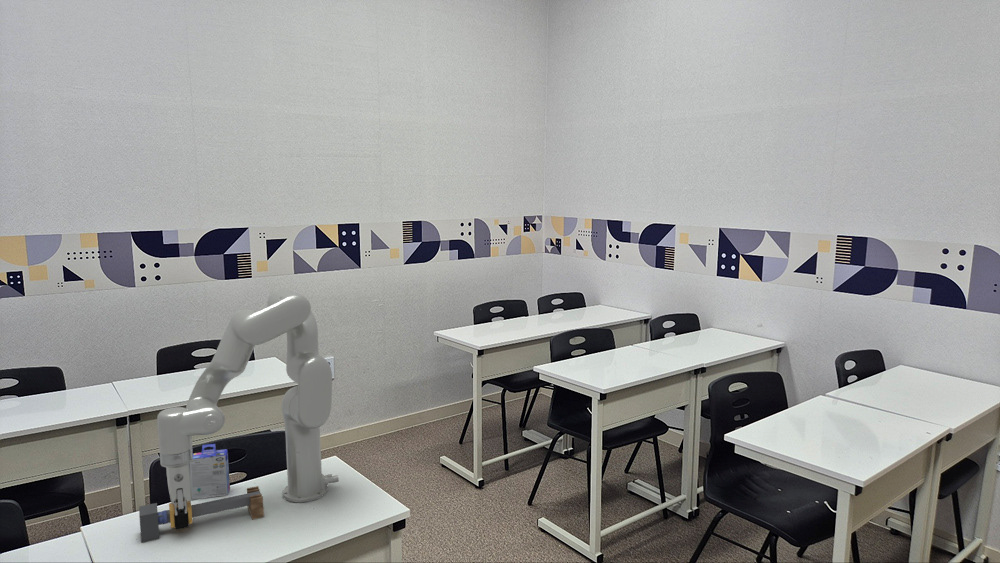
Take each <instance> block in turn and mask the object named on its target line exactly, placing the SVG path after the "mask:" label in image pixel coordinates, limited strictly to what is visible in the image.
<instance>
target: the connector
mask: <svg viewBox="0 0 1000 563" xmlns="http://www.w3.org/2000/svg"><path fill="white" fill-rule="evenodd" d="M138 509H139V512H138V513H139V528H140V538H141V539H140V541H141V543H142V544H143V543H146V542H152V541H156V540H159V539H160V538H161V537H160V525H158V524H161V523H163V516H162V517H158V516H159V515H163V512H161V511H158V503H157V502H155V503H149V504H145V505H140V506H138Z"/></svg>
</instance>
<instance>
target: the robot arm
mask: <svg viewBox="0 0 1000 563" xmlns="http://www.w3.org/2000/svg"><path fill="white" fill-rule="evenodd" d="M266 305H267V307H265V308H262V309H260V310H258V311H255V310H253V309H248V308H246V309H244V308H243V309H239V310H237V311H236V312H234V313H233V314H232V316H231V317H230V319H229V321H228V323H227V326H226V328H225V331H224V332H223V335H222V336H221V337H222V338H221V339H220V341H219V344H218V346H217V349H216V351H215V353H214V355H213V357H212V358H211V359H212V360H211V361H210V363H209V364H208V365H207V367H206V368H205V369H204V371H203V372H202V373H201V375H200V376H199V377H198V379H197V381H196V382H195V384H194V386H193V389H192V391H191V394H190V396H189V398H188V400H187V403H186V406H185V407H182V406H177V407H176V406H175V407H168V408H166V409H163V410H161V411H160V412H158V414H157V416H156V417H157V418H156V419H157V420H156V422H157V436H158V449H159V461H160V462H159V464H160V466H161V467H163V468H165V469H166V470H165V471H166V478H167V487H168V493H169V498H170V503H172V504H173V505H174V506H175V514H174V521H175V527H174V529H175V530H176V531H177V530H181V529H185V528H189V526H190V524H189V519H188V512H187V505H186V500H187V501H191V502H192V501H193V500H192V490H191V476H190V462H192V460H193V440H192V436H205V435H206V436H207V435H212V434H215V433H217V432H219V431H220V430H221V429H222V428H223V426H224V424H225V423H226V417H225V413H224V412H223V411H222V409H221V408H220V407H218V402H219V399H220V398H221V395H222V393H223V391H224V390H225V388H226V386H227V385H228V384H229V383H230V382H231V381H232V380H234V379H235V378H237V377H239V376H241V375H242V374H243V373H244V371H246V368H247V366H248V363H249V361H250V358H251V357H252V353H253V352H254V349H255V347H256V346H259V345H262V344H266V343H268V342H270V341H272V340H275V339H277V338H278V337H280V336H281V335H284V334H286V366H285V367H286V368H285V370H286V374H287V376H288V378H289V379H290V380H292V381H293V382H294V383H297V385H296V386H293V387H290V388H289V389H288V390H287V391H286V392H285V394H284V395H283V397H282V401H281V413H282V420H283V424H284V431H285V432H284V433H285V452H286V454H285V456H286V468H287V469H286V470H287V473H286V474H287V475H286V476H287V486H286V487H285V488H283V490H282V498H284V500H286V501H288V502H293V503H305V502H307V503H308V502H311V501H315V500H318V499H321V497H324V496H325V495H326V494H327V493H328V490H329V486H328V485H329V484H333V483H338V482H339V481H340V479H339V475H338V474H336V475H333V474H332V473H329V474H325V475H324V474H323V472H322V469H323V468H322V451H321V450H322V446H321V429H320V428H321V427H323V425H325V424H326V423H327V421H328V420H329V418H330V416H331V410H332V398H333V395H332V394H333V372H332V368H331V365H330V363H329V361H328V360H327V359H326V358H325V357H323V356H322V355H320V354H319V332H318V331H319V330H318V323H317V320H316V317H315V315H314V313H313V312H312V305H311V303H310V301H309V299H308V298H307V297H305V295H302V294H301V293H298V292H294V291H292V290H288V289H277V290H274V291H272V292H271V293H270V294H269V295H268V298H267V302H266ZM183 500H184V501H183ZM177 505H178V507H177Z"/></svg>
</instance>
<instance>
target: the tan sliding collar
mask: <svg viewBox="0 0 1000 563" xmlns="http://www.w3.org/2000/svg"><path fill="white" fill-rule="evenodd" d="M183 501H184V500H183ZM191 502H192V501H187V500H186V505H187V512H188V519H189V525H191V524H193V518H192V507H191V505H192V503H191ZM168 507H169V509H168V510H170V522H171V523H170V528H171V529H173V528H174V529H175V521H174V514H175V506H174V505H173V504H172V503H171V502H169V503H168ZM177 507H178V505H177Z"/></svg>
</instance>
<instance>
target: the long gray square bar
mask: <svg viewBox="0 0 1000 563" xmlns="http://www.w3.org/2000/svg"><path fill="white" fill-rule="evenodd" d="M258 494H262V492H261V491H257V492H252V493H247V492H246V493H244V494H243V493H242V494H238V495H234V496H228V497H223V498H220V499H215V500H211V501H205V502H199V503H195V504H191V507H192V519H193V518H198V517H202V516H207V515H211V514H216V513H220V512H225V511H231V510H234V509H239V508H244V507H248V506H249V505H250V496H253V495H258ZM160 512H163V515H159V516H158V517H162V516H163V523H161V524H158V525H159V526H160V525H166V524H171V522H170V510H169V509H166V510H162V511H160Z"/></svg>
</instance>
